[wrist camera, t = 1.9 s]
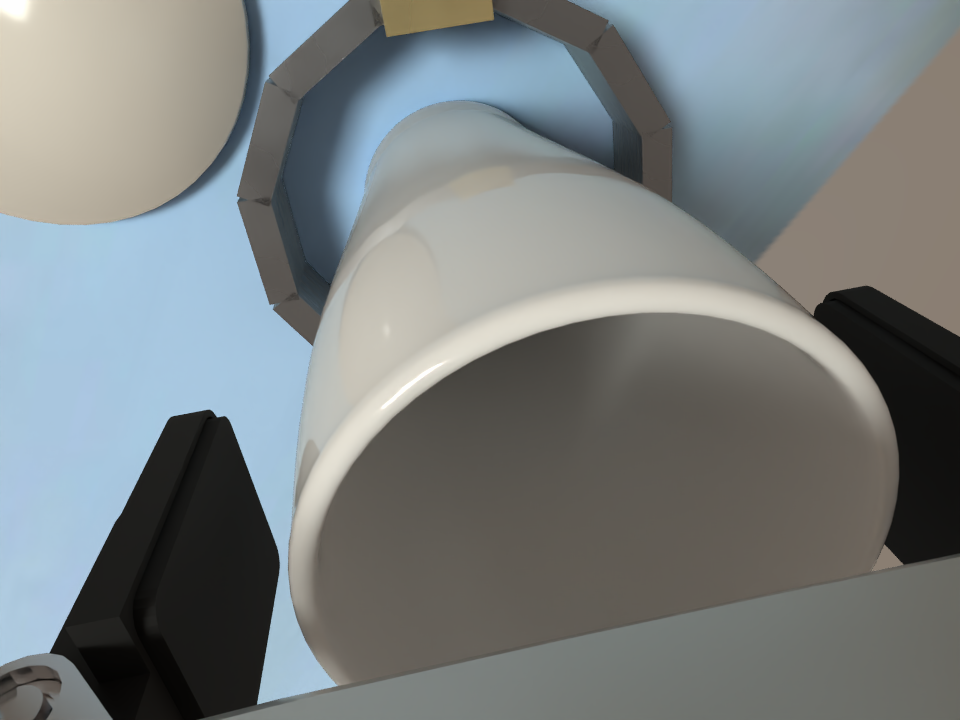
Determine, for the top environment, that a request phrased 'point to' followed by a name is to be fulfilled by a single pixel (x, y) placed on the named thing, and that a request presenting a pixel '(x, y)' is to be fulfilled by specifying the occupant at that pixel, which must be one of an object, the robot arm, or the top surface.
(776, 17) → the top surface
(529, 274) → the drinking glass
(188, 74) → the disc
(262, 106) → the collar
